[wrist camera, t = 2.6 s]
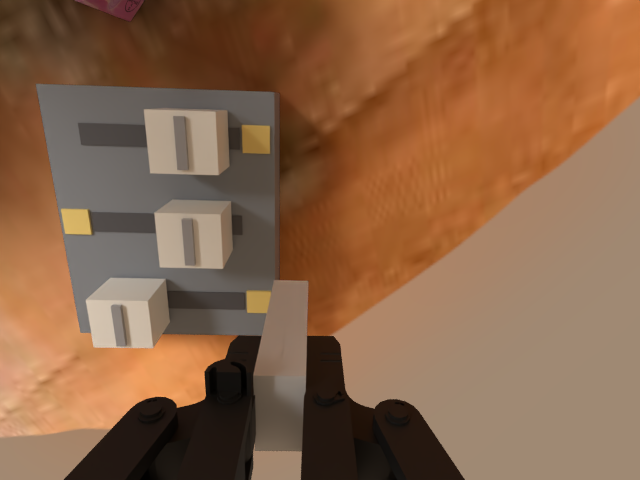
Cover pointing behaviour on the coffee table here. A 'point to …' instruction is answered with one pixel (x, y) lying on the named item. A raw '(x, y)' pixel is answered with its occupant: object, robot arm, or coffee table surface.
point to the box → (116, 7)
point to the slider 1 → (128, 313)
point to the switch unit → (164, 200)
